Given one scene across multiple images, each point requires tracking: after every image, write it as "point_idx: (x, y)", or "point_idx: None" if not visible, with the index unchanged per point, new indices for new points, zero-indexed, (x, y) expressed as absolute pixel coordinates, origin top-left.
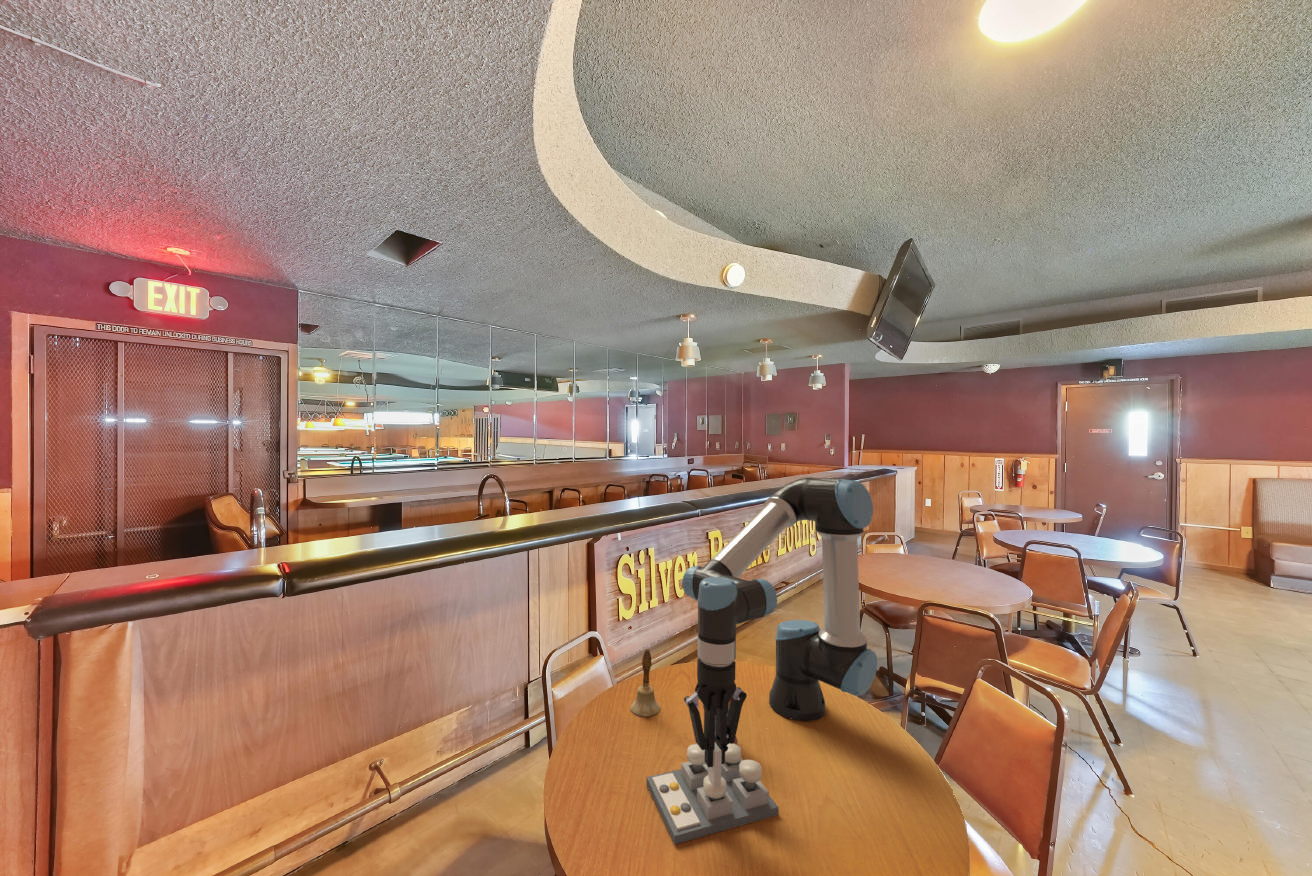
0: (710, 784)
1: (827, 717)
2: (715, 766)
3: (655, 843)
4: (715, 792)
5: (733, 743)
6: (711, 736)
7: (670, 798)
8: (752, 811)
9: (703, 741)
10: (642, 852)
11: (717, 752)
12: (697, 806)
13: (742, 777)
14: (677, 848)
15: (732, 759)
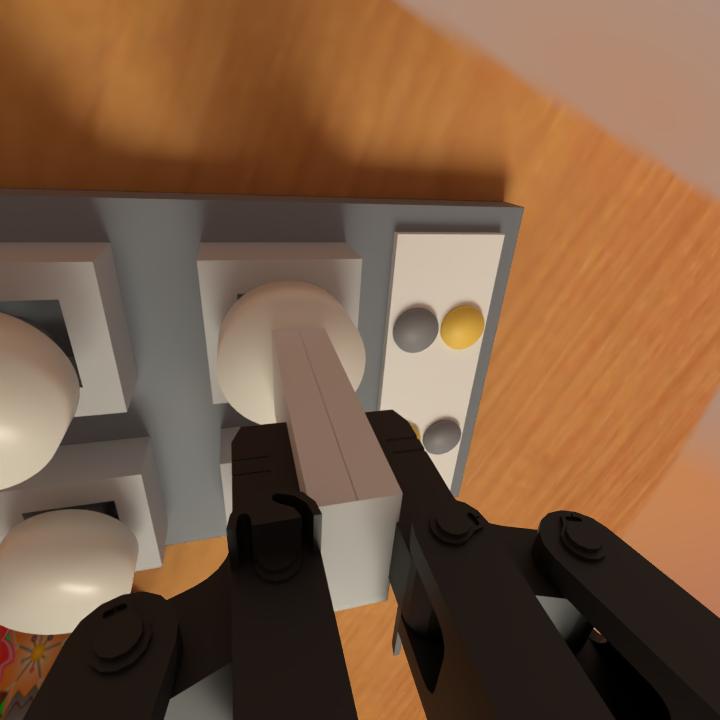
0: None
1: None
2: (347, 400)
3: (556, 233)
4: (322, 297)
5: (8, 636)
6: (558, 699)
7: (443, 389)
8: (67, 215)
9: (639, 607)
10: (613, 210)
11: (362, 490)
12: None
13: (66, 366)
14: (504, 179)
15: (76, 527)
